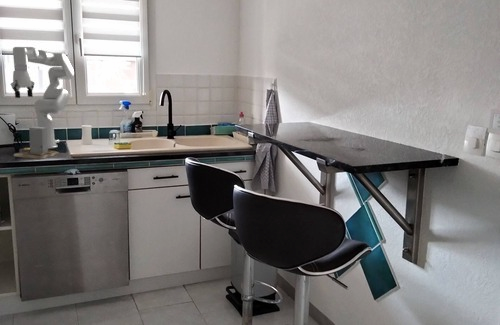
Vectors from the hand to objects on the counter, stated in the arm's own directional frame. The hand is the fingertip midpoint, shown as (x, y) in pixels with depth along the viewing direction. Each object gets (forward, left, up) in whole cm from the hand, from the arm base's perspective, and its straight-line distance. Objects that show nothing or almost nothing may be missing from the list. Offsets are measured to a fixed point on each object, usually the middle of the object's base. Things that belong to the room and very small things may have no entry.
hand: (24, 97), depth 284 cm
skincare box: (+4, +12, -33) cm, 36 cm away
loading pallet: (+4, +10, -34) cm, 36 cm away
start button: (+4, +2, -32) cm, 33 cm away
